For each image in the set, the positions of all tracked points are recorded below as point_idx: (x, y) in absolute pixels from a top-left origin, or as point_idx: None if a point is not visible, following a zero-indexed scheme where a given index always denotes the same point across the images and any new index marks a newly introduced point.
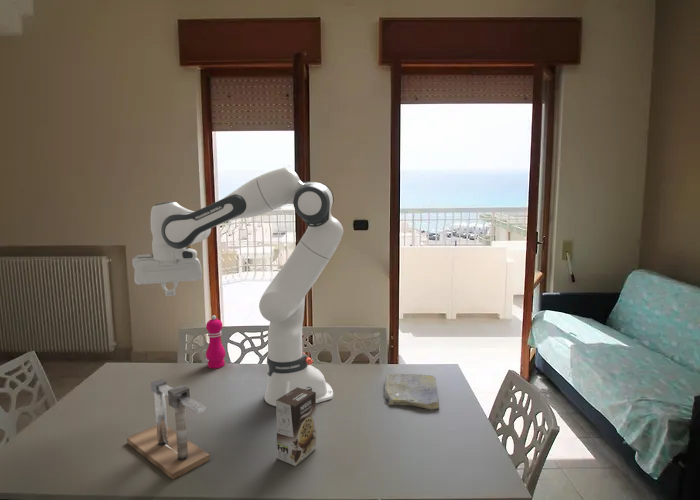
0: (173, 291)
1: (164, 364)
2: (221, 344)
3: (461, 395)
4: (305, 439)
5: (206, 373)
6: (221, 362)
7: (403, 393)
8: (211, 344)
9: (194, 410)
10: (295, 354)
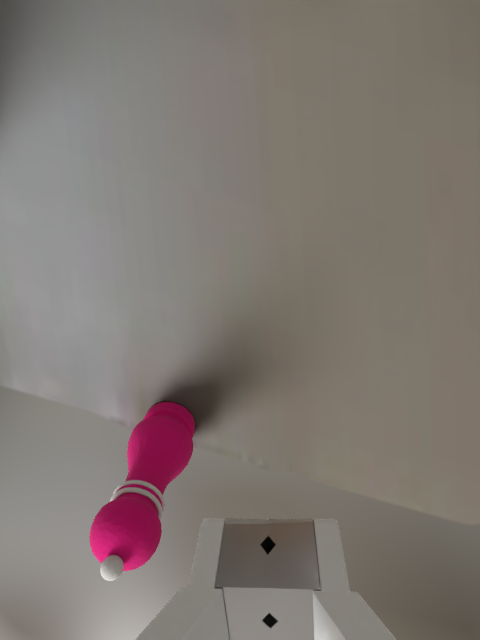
0: (214, 570)
1: (326, 473)
2: (129, 466)
3: None
4: None
5: (195, 376)
6: (148, 416)
7: None
8: (159, 464)
9: None
10: None
